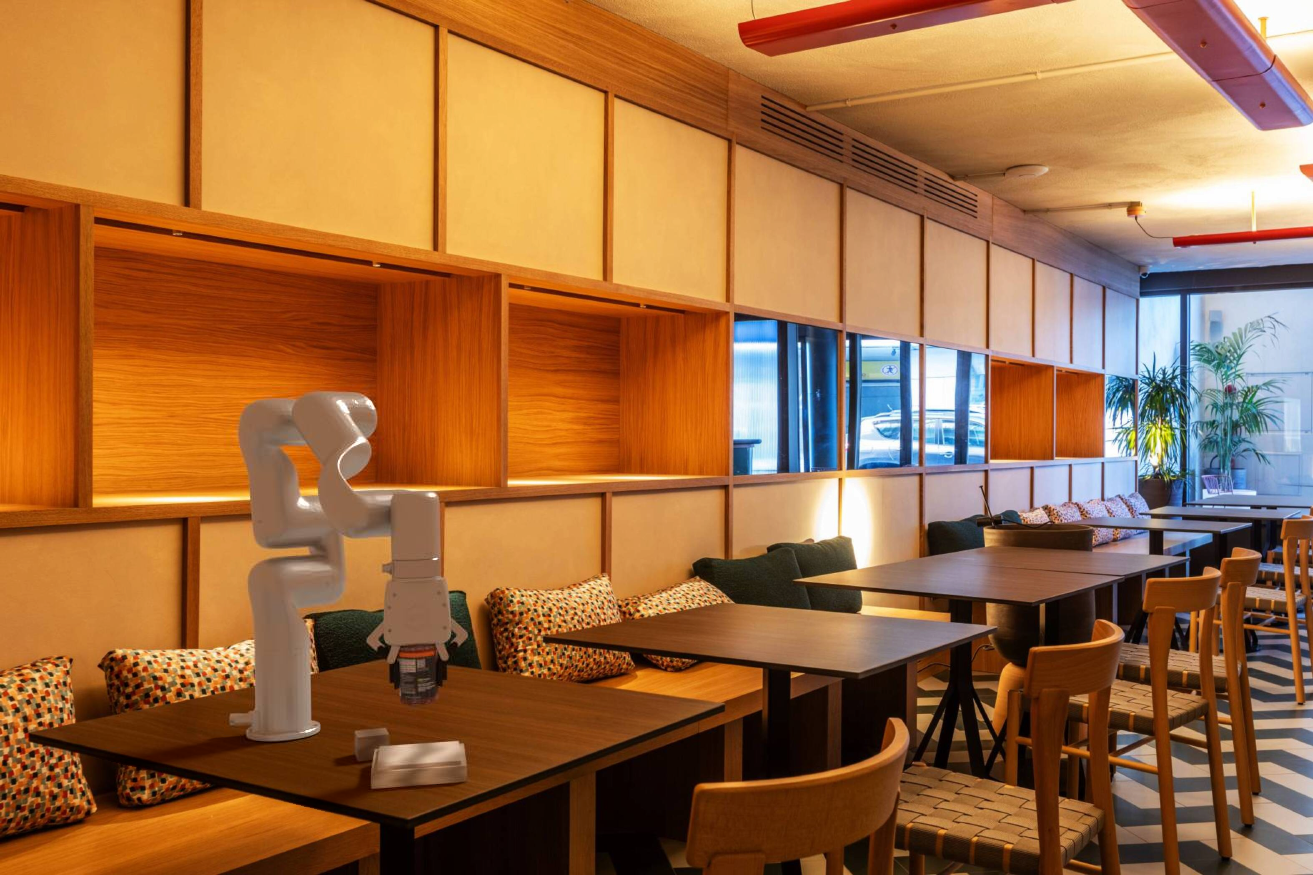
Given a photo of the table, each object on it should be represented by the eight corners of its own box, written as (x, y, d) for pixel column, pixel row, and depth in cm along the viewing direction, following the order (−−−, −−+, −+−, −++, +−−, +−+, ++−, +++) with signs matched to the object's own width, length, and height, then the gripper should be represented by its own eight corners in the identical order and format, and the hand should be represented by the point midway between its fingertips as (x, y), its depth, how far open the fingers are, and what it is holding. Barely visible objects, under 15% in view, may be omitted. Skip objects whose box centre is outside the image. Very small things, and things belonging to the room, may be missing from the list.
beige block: (358, 762, 185) (357, 737, 185) (355, 754, 189) (354, 730, 189) (389, 758, 186) (389, 734, 186) (385, 751, 191) (385, 727, 191)
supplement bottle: (422, 696, 181) (420, 625, 182) (446, 701, 177) (445, 628, 178) (391, 703, 177) (390, 630, 177) (416, 707, 173) (414, 632, 173)
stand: (371, 788, 169) (370, 768, 169) (375, 764, 182) (374, 745, 182) (467, 781, 172) (466, 761, 172) (463, 757, 185) (463, 739, 185)
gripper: (357, 574, 172) (360, 694, 172) (473, 569, 176) (475, 687, 175) (360, 570, 180) (362, 685, 179) (471, 565, 183) (473, 678, 183)
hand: (418, 685), depth 177 cm, fingers closed on supplement bottle, 6 cm apart
